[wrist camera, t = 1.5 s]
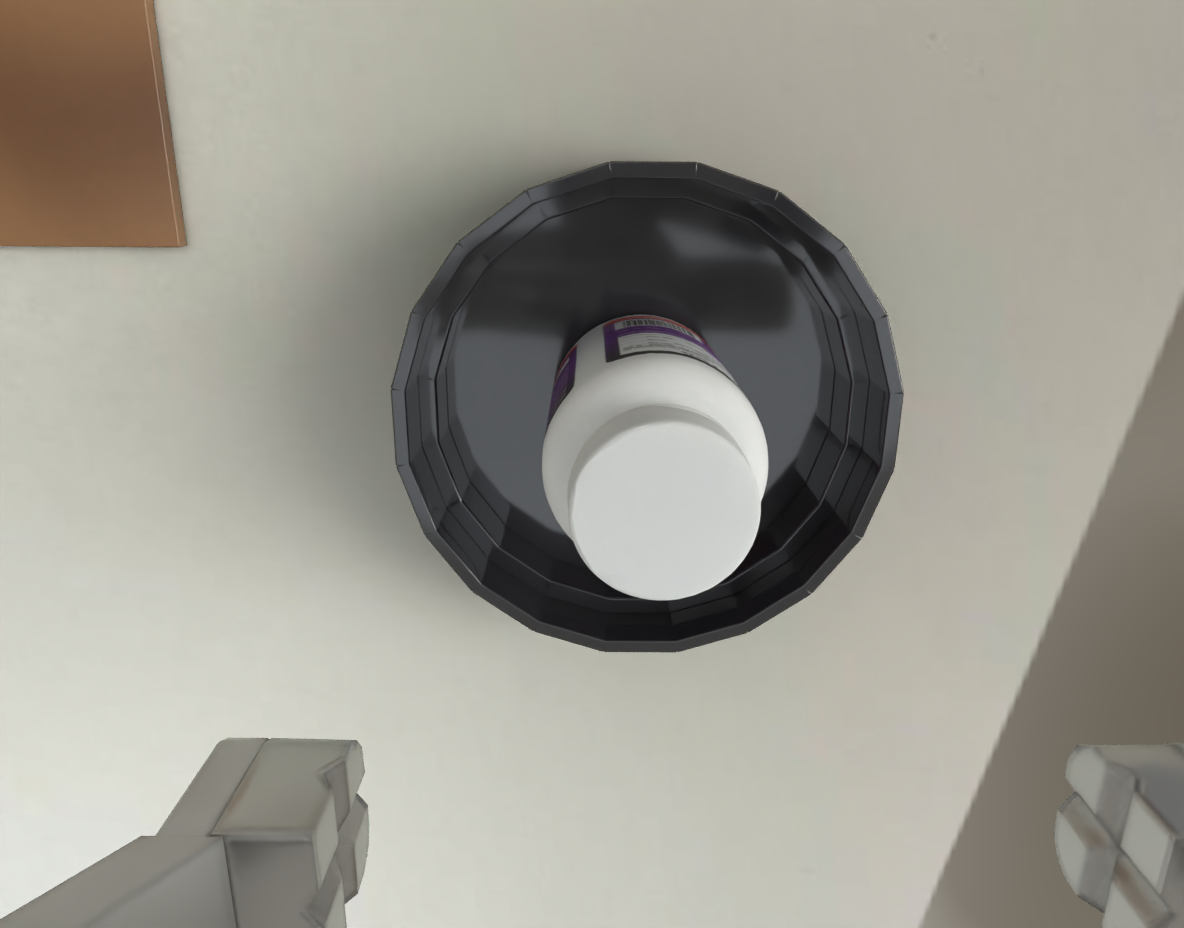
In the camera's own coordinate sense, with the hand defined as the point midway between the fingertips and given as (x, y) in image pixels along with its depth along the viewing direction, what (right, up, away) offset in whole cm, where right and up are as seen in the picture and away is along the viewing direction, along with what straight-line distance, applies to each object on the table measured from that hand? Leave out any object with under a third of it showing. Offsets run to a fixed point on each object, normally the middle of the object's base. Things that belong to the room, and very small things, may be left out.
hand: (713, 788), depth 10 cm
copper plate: (-18, +15, +14) cm, 27 cm away
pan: (0, +6, +17) cm, 18 cm away
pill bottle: (0, +6, +17) cm, 18 cm away
